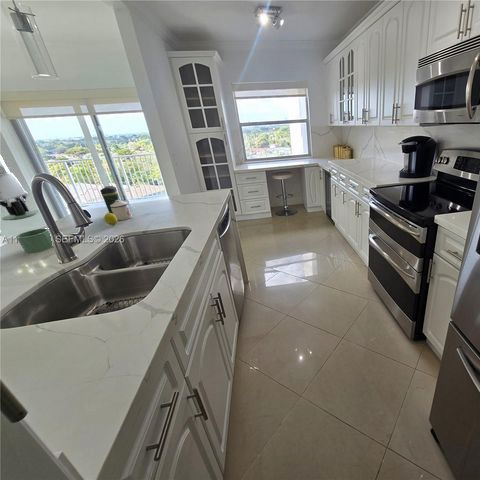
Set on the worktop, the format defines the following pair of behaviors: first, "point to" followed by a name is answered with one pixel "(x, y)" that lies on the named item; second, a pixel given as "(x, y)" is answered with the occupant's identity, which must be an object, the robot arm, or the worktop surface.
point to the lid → (20, 212)
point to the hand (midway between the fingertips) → (19, 212)
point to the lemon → (110, 219)
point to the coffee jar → (110, 196)
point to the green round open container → (35, 240)
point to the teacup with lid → (121, 210)
